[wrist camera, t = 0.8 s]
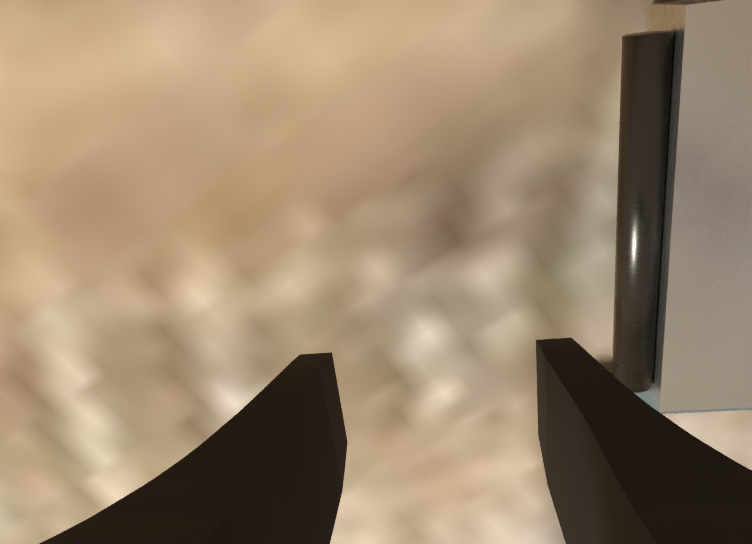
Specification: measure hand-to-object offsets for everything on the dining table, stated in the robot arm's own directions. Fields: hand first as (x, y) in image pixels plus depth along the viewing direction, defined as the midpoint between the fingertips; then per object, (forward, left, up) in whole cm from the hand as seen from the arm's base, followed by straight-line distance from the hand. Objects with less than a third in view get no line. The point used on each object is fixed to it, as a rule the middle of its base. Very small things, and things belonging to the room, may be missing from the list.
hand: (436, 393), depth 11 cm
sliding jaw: (-5, -5, -10) cm, 12 cm away
